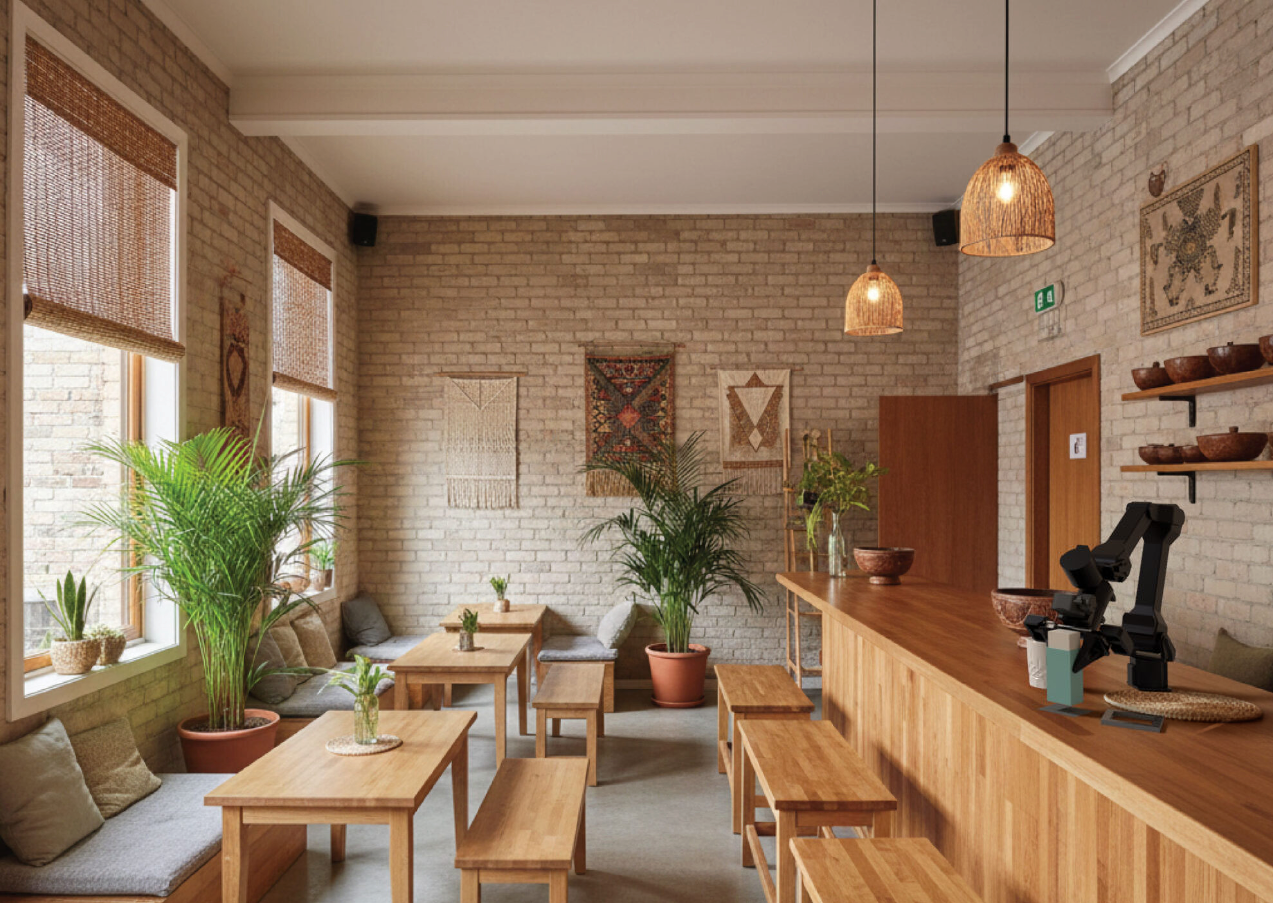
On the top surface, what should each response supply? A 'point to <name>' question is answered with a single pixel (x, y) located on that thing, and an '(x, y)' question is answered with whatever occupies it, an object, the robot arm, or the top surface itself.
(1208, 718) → the top surface
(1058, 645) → the peg
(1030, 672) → the white cup
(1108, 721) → the socket
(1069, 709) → the pad
